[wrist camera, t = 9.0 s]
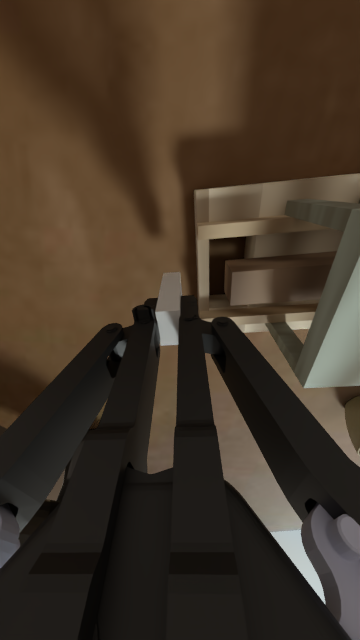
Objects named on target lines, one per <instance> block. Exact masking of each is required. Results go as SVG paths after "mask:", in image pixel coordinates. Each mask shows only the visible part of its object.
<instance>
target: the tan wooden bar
mask: <svg viewBox="0 0 360 640" xmlns="http://www.w3.org/2000/svg"><path fill="white" fill-rule="evenodd" d="M336 253H337V251H331V252H320V253H308V254H296V255H284V256H272V257H260V258H248V259H236V260H225V282H224V291H225V294H226V296H227V299H228V301H229V304H230V306H233V305H247V304H261V303H275V302H289V301H303V300H318V299H320V298H321V295H322V292H323V289H324V287H325V284H326V281H327V278H328V275H329V273H330V270H331V267H332V264H333V261H334V259H335V256H336Z"/></svg>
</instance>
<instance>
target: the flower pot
mask: <svg viewBox="0 0 360 640" xmlns="http://www.w3.org/2000/svg"><path fill="white" fill-rule="evenodd" d="M345 419H346V425H347V429H348V433H349V436H350V438H351V441H352V443H353V446H354V448H355V450H356V452H357V454H358V455H359V456H360V396H358V397H355V398H353V399H351V400H349V401H348V402H347V403H346V405H345Z"/></svg>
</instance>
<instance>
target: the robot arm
mask: <svg viewBox="0 0 360 640" xmlns="http://www.w3.org/2000/svg"><path fill="white" fill-rule="evenodd" d="M132 313H133V317H134V321H135V322H134V325H132V326H129V327H125V328H122V325H120V324H118V323H112V324H108V325H106V326H105V327H103V328H102V329H101V330H100V331H99V332H98V333H97V334H96V335H95V336H94V338H93V339H92V340H91V341H90V342H89V343H88V344H87V345H86V346H85V347H84V348H83V349H82V350H81V351H80V352H79V353H78V355H77V356H76V357H75V358H74V359H73V360H72V361H71V362H70V363H69V364H68V365H67V366H66V367H65V368H64V369H63V370H62V372H61V373H60V374H59V375H58V376H57V377H56V378H55V379H54V380H53V381H52V382H51V383H50V384H49V385H48V386H47V387H46V389H45V390H44V391H43V392H42V393H41V394H40V395H39V396H38V397H37V398H36V399H35V400H34V401H33V402H32V403H31V404H30V406H29V407H28V408H27V409H26V410H25V411H24V412H23V413H22V414H21V415H20V416H19V417H18V418H17V419H16V420H15V421H14V423H13V424H12V425H11V426H10V427H9V428H8V429H7V430H6V431H5V432H4V433H3V434H2V435H1V437H0V640H360V467H359V466H357V465H356V464H355V463H354V462H353V461H351V460H350V459H349V458H348V457H347V455H346V454H345V453H344V452H343V451H342V450H341V448H340V447H339V446H338V445H337V444H336V442H335V441H334V440H333V439H332V438H331V436H330V435H329V434H328V433H327V432H326V431H325V429H324V428H323V427H322V426H321V425H320V423H319V422H318V421H317V420H316V419H315V417H314V416H313V415H312V414H311V413H310V412H309V410H308V409H307V408H306V407H305V406H304V404H303V403H302V402H301V401H300V400H299V398H298V397H297V396H296V395H295V394H294V393H293V391H292V390H291V389H290V388H289V387H288V385H287V384H286V383H285V382H284V381H283V379H282V378H281V377H280V376H279V375H278V374H277V372H276V371H275V370H274V369H273V368H272V366H271V365H270V364H269V363H268V362H267V360H266V359H265V358H264V357H263V356H262V355H261V353H260V352H259V351H258V350H257V349H256V347H255V346H254V345H253V344H252V343H251V341H250V340H249V339H248V338H247V337H246V336H245V334H244V333H243V332H242V331H241V330H240V328H239V327H238V326H237V325H236V324H235V322H234V321H233V320H232V319H230V318H228V317H216V318H214V319H213V320H212V322H208V321H204V320H202V319H201V318H200V317H199V314H198V307H197V299H196V297H195V296H194V295H189V296H182V289H181V276H180V272H172V273H163V277H162V282H161V287H160V292H159V296H158V298H149V299H147V300H146V301H145V303H144V305H139V306H136V307H135V308H133V310H132ZM160 343H161V345H178V376H177V416H176V427H175V433H174V460H173V468H170V469H167V470H164V471H161V472H158V473H155V474H147V453H148V445H149V437H150V429H151V421H152V413H153V405H154V397H155V389H156V381H157V373H158V365H159V357H160V346H159V344H160ZM205 353H209V354H211V357H212V359H213V361H214V363H215V365H216V366H217V368H218V370H219V372H220V374H221V376H222V378H223V380H224V382H225V384H226V385H227V387H228V389H229V391H230V393H231V395H232V397H233V399H234V401H235V403H236V405H237V406H238V408H239V410H240V412H241V414H242V416H243V418H244V420H245V422H246V424H247V425H248V427H249V429H250V431H251V433H252V435H253V437H254V439H255V441H256V443H257V445H258V446H259V448H260V450H261V452H262V454H263V456H264V458H265V460H266V462H267V464H268V465H269V467H270V469H271V471H272V473H273V475H274V477H275V479H276V481H277V483H278V484H279V486H280V488H281V490H282V491H283V493H284V495H285V497H286V498H287V500H288V502H289V503H290V505H291V506H292V507H293V509H294V510H295V512H296V513H297V515H298V516H299V518H300V519H301V520H302V522H303V524H302V529H301V537H302V543H303V546H304V549H305V552H306V554H307V556H308V558H309V560H310V561H311V563H312V565H313V567H314V569H315V570H316V572H317V574H318V576H319V579H320V581H321V584H322V587H323V591H324V596H325V601H326V605H325V604H324V603H323V601H322V600H321V599H320V597H319V596H318V595H317V593H316V592H315V591H314V590H313V588H312V587H311V586H310V585H309V583H308V582H307V580H306V579H305V578H304V577H303V575H302V574H301V573H300V571H299V570H298V569H297V567H296V566H295V565H294V563H293V562H292V561H291V559H290V558H289V557H288V556H287V554H286V553H285V552H284V550H283V549H282V548H281V546H280V545H279V544H278V543H277V541H276V540H275V539H274V537H273V536H272V535H271V533H270V532H269V531H268V529H267V528H266V527H265V525H264V524H263V523H262V521H261V520H260V519H259V518H258V516H257V515H256V514H255V512H254V511H253V510H252V508H251V507H250V506H249V504H248V503H247V502H246V501H245V499H244V498H243V497H242V495H241V494H240V493H239V492H238V491H237V490H236V489H235V488H234V487H233V486H232V485H231V484H229V483H228V482H227V481H225V480H224V478H223V471H222V464H221V457H220V450H219V443H218V436H217V430H216V426H215V425H214V419H213V412H212V404H211V397H210V390H209V382H208V375H207V367H206V360H205ZM108 356H109V357H108ZM107 357H108V359H107ZM107 399H108V400H107ZM106 400H107V403H106V406H105V408H104V411H103V414H102V417H101V420H100V423H99V425H98V427H97V428H96V429H94V430H89V428H90V426H91V425H92V423H93V421H94V420H95V418H96V417H97V415H98V413H99V412H100V410H101V408H102V407H103V405H104V403H105V402H106ZM64 469H65V474H64V481H63V485H62V488H61V491H60V493H59V496H58V498H57V500H56V501H53V500H49V499H46V498H47V496H48V495H49V493H50V492H51V490H52V489H53V487H54V485H55V484H56V482H57V480H58V479H59V477H60V475H61V474H62V472H63V471H64Z"/></svg>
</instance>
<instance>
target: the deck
mask: <svg viewBox="0 0 360 640" xmlns="http://www.w3.org/2000/svg"><path fill="white" fill-rule="evenodd" d="M194 210H195V237H196V264H197V290H198V314H199V317H200V318H201V319H202V320H204V321H208V322H212V320H213V319H214V318H216V317H228V318H230V319H232V320H233V321H234V322H235V324H236V325H237V326H238V327H239V328H240V330H241V331H242V332H243V333H245V332H262V331H269V332H270V333H271V335H272V337H273V338H274V340H275V342H276V343H277V345H278V347H279V348H280V350H281V352H282V353H283V355H284V357H285V358H286V360H287V362H288V363H289V365H290V367H291V368H292V370H293V372H294V373H295V375H296V377H297V378H298V380H299V382H300V383H301V385H302V387H303V388H318V387H341V386H360V173H356V174H346V175H336V176H326V177H316V178H306V179H296V180H286V181H276V182H267V183H257V184H247V185H237V186H227V187H217V188H207V189H197V190H194ZM240 236H246V244H245V254H244V259H248V258H260V257H272V256H284V255H296V254H308V253H320V252H331V251H337V253H336V256H335V259H334V261H333V264H332V267H331V270H330V273H329V275H328V278H327V281H326V284H325V287H324V289H323V292H322V295H321V298H320V299H318V300H303V301H289V302H275V303H261V304H247V305H233V306H230V304H229V301H228V299H227V296H226V294H221V295H209V239H217V238H229V237H240ZM295 329H309V331H308V334H307V337H306V340H305V343H304V345H303V344H302V342H301V341H300V340H299V338H298V337H297V336H296V335H295V333H294V332H293V331H292V330H295Z"/></svg>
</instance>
